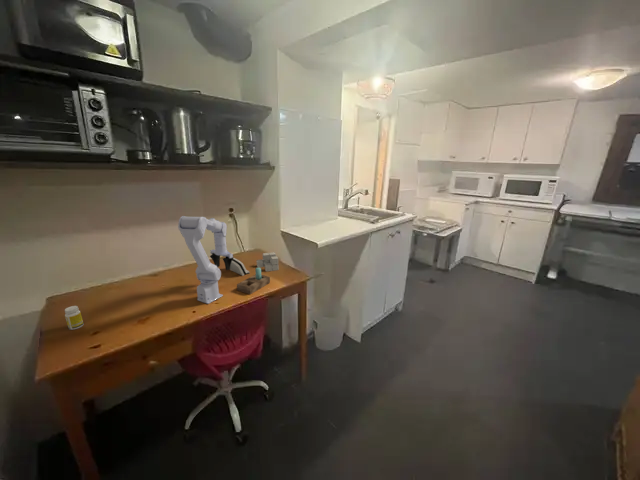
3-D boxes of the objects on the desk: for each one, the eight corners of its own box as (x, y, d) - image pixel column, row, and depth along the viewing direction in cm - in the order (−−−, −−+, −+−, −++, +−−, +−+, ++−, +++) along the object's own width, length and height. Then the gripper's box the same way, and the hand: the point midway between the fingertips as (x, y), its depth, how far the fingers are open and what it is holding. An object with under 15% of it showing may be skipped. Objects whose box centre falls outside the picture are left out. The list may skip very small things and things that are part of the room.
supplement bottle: (86, 323, 115) (82, 305, 113) (77, 330, 111) (72, 311, 108) (74, 323, 115) (69, 305, 113) (65, 330, 110) (59, 311, 108)
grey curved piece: (250, 273, 167) (244, 260, 161) (244, 278, 164) (237, 264, 159) (234, 266, 177) (228, 253, 172) (228, 270, 174) (222, 258, 169)
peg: (259, 285, 151) (258, 270, 149) (255, 284, 153) (254, 268, 150) (262, 283, 154) (262, 268, 151) (258, 282, 155) (257, 267, 153)
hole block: (250, 294, 141) (250, 288, 140) (237, 290, 145) (236, 284, 144) (270, 282, 155) (269, 276, 154) (257, 279, 159) (257, 273, 158)
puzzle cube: (256, 265, 179) (256, 253, 177) (275, 263, 183) (274, 252, 181) (259, 272, 168) (258, 260, 166) (278, 270, 172) (278, 258, 170)
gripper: (236, 244, 146) (238, 268, 149) (216, 240, 152) (218, 263, 156) (226, 247, 140) (228, 272, 144) (206, 243, 146) (208, 267, 150)
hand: (222, 268), depth 149 cm, fingers open, 7 cm apart
